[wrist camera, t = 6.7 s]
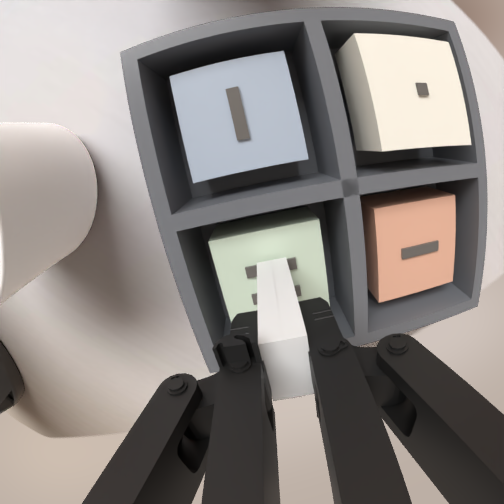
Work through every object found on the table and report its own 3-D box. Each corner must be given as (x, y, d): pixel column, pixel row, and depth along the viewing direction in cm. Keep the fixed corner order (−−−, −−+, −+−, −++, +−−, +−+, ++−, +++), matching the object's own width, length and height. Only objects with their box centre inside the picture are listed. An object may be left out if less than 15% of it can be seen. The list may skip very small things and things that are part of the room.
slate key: (204, 176, 17) (192, 183, 13) (184, 89, 15) (168, 75, 12) (298, 157, 16) (309, 159, 13) (278, 69, 14) (283, 49, 11)
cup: (130, 172, 17) (27, 201, 8) (71, 276, 20) (-6, 347, 10) (45, 101, 15) (-55, 95, 6) (1, 204, 18) (-82, 240, 8)
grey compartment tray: (218, 325, 21) (209, 372, 16) (153, 74, 15) (120, 52, 10) (441, 275, 20) (477, 306, 15) (414, 42, 14) (454, 21, 9)
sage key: (237, 303, 20) (234, 334, 16) (216, 224, 18) (207, 242, 14) (319, 288, 19) (331, 315, 16) (307, 206, 17) (319, 219, 14)
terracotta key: (360, 278, 19) (379, 304, 16) (353, 197, 17) (375, 209, 14) (427, 261, 18) (453, 282, 15) (426, 186, 17) (456, 195, 13)
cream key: (356, 150, 14) (383, 151, 11) (334, 54, 12) (355, 32, 9) (436, 142, 14) (473, 145, 10) (418, 55, 12) (450, 41, 9)
